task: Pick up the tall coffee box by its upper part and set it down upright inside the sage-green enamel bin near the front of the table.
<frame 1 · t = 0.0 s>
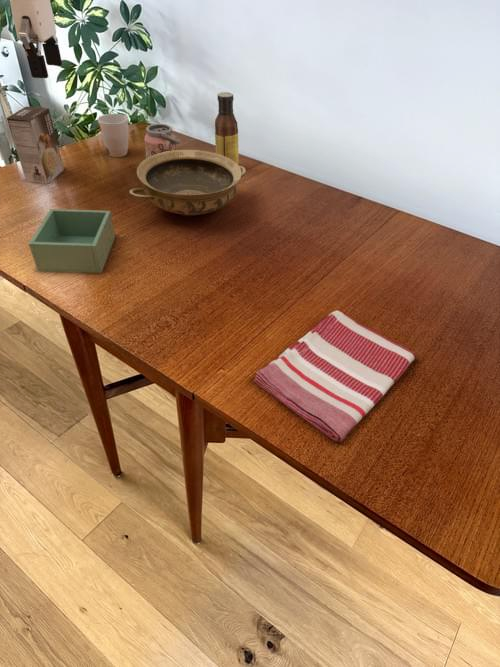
hand: (47, 71, 98), 28 cm above the table, tool pointing down, fingers open, 9 cm apart
dish towel: (336, 373, 76), on the table
ceramic bowl: (191, 209, 114), on the table
bin: (78, 254, 98), on the table
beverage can: (165, 173, 128), on the table
cup: (118, 155, 135), on the table
coffee box: (45, 176, 123), on the table
sauce bottle: (226, 170, 131), on the table
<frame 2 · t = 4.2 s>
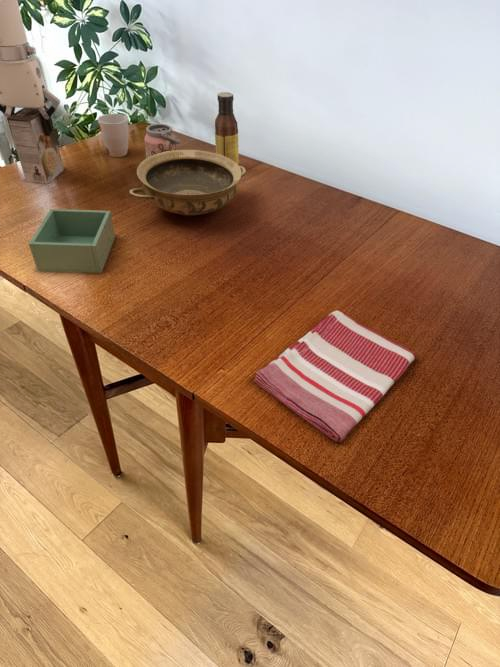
hand: (33, 133, 115), 11 cm above the table, tool pointing down, fingers closed on coffee box, 7 cm apart
coffee box: (45, 176, 123), on the table, touching gripper
everything else where it was.
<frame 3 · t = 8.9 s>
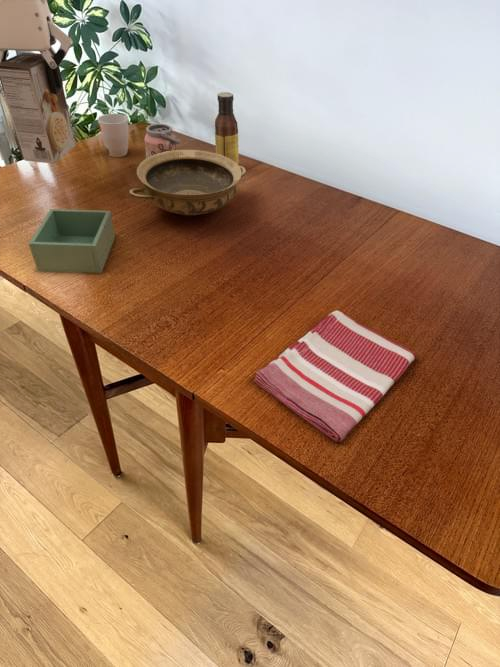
hand: (34, 90, 81), 30 cm above the table, tool pointing down, fingers closed on coffee box, 7 cm apart
coffee box: (51, 154, 89), point 19 cm above the table, touching gripper
everything else where it was.
when the fingers open (12 cm above the table, at t = 14.0 s): coffee box stays where it is, resting on bin.
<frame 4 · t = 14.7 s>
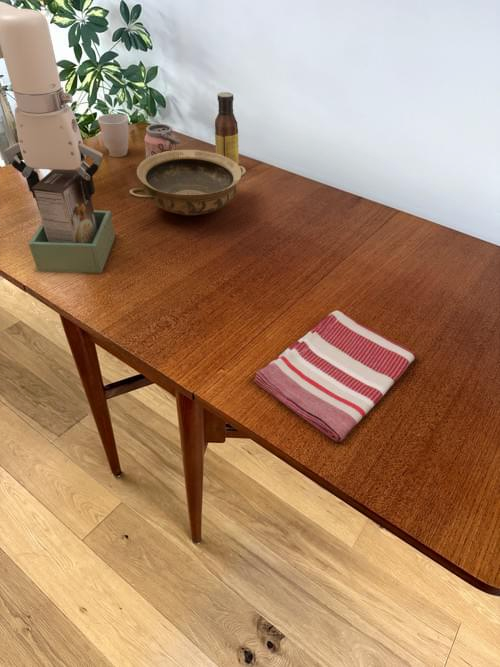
hand: (63, 195, 89), 13 cm above the table, tool pointing down, fingers open, 9 cm apart
coffee box: (77, 252, 97), resting on bin
everything else where it was.
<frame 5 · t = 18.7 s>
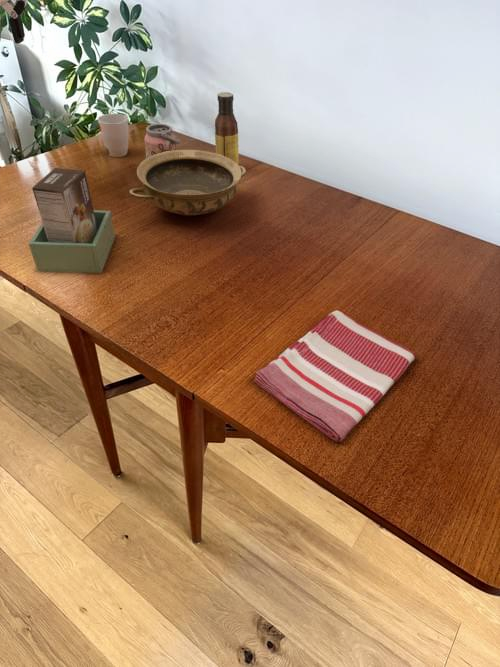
nothing on the table moved.
at the end: coffee box inside the target area in the bin (0.1 cm from its centre), point 0.4 cm above the bin's base; the gripper is holding nothing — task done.
